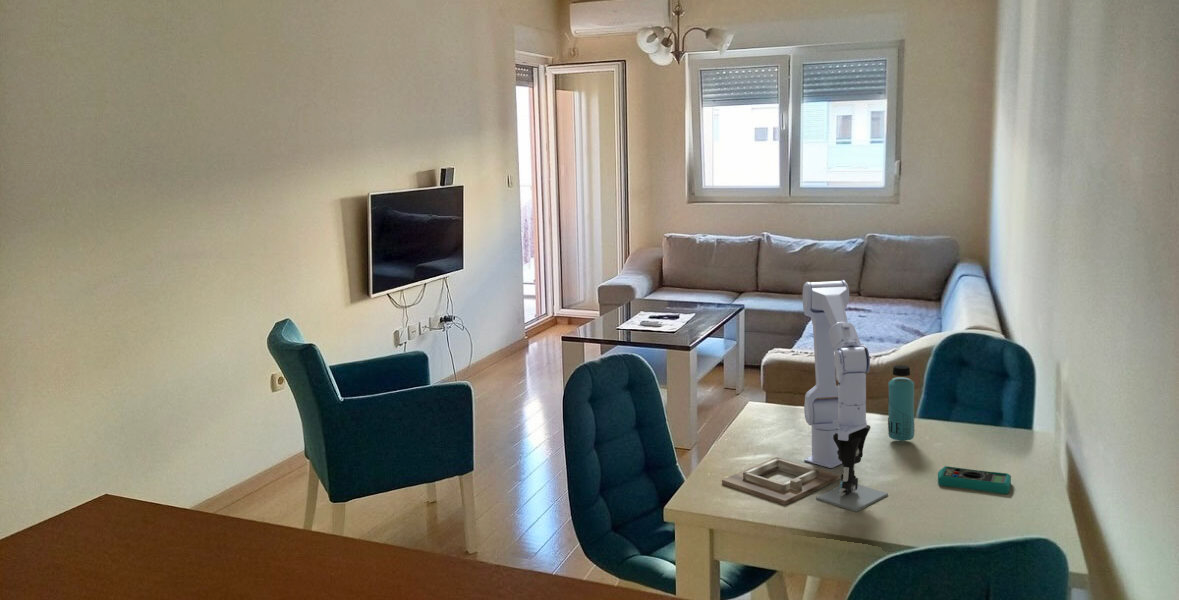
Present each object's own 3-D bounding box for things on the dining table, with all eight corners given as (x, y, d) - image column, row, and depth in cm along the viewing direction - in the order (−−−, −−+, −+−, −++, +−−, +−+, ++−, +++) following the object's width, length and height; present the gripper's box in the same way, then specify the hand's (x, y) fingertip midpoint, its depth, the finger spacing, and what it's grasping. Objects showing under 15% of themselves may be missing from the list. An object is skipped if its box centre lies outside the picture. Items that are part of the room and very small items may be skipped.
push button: (851, 500, 195) (854, 457, 193) (828, 494, 198) (830, 451, 196) (864, 490, 200) (867, 447, 198) (841, 483, 203) (843, 441, 201)
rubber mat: (848, 483, 207) (848, 481, 207) (887, 495, 199) (887, 493, 199) (816, 499, 199) (816, 497, 199) (856, 511, 192) (856, 509, 192)
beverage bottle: (917, 440, 233) (918, 363, 229) (911, 448, 227) (911, 370, 224) (891, 436, 236) (891, 361, 233) (884, 444, 231) (884, 367, 227)
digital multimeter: (940, 475, 210) (941, 463, 209) (1011, 484, 203) (1012, 472, 202) (935, 487, 204) (935, 474, 203) (1008, 497, 196) (1008, 484, 196)
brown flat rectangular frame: (776, 460, 223) (776, 449, 223) (839, 479, 210) (839, 466, 209) (722, 483, 211) (721, 471, 210) (785, 505, 197) (785, 491, 197)
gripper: (842, 391, 204) (843, 449, 206) (823, 409, 191) (823, 470, 194) (874, 394, 200) (874, 453, 202) (857, 413, 188) (857, 475, 190)
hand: (852, 462), depth 198 cm, fingers closed on push button, 5 cm apart
